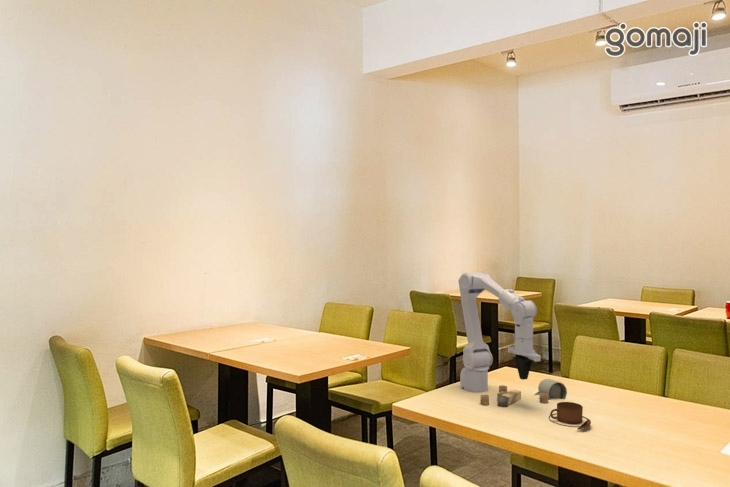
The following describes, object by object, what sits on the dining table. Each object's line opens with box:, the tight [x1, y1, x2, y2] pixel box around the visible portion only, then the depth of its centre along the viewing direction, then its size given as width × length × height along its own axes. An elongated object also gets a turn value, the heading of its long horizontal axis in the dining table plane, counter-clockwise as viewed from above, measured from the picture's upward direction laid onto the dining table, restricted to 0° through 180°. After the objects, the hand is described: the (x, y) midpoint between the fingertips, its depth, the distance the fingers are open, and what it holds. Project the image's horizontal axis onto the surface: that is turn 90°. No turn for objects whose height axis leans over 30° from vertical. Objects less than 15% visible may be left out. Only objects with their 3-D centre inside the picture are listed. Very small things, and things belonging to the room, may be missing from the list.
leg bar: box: [497, 389, 522, 408], centre depth 182 cm, size 13×3×3 cm, turn 140°
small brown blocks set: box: [479, 384, 549, 407], centre depth 181 cm, size 18×18×4 cm
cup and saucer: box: [548, 401, 592, 430], centre depth 164 cm, size 12×12×6 cm
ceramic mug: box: [533, 378, 568, 401], centre depth 189 cm, size 10×8×7 cm
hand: (523, 378), depth 178 cm, fingers closed
